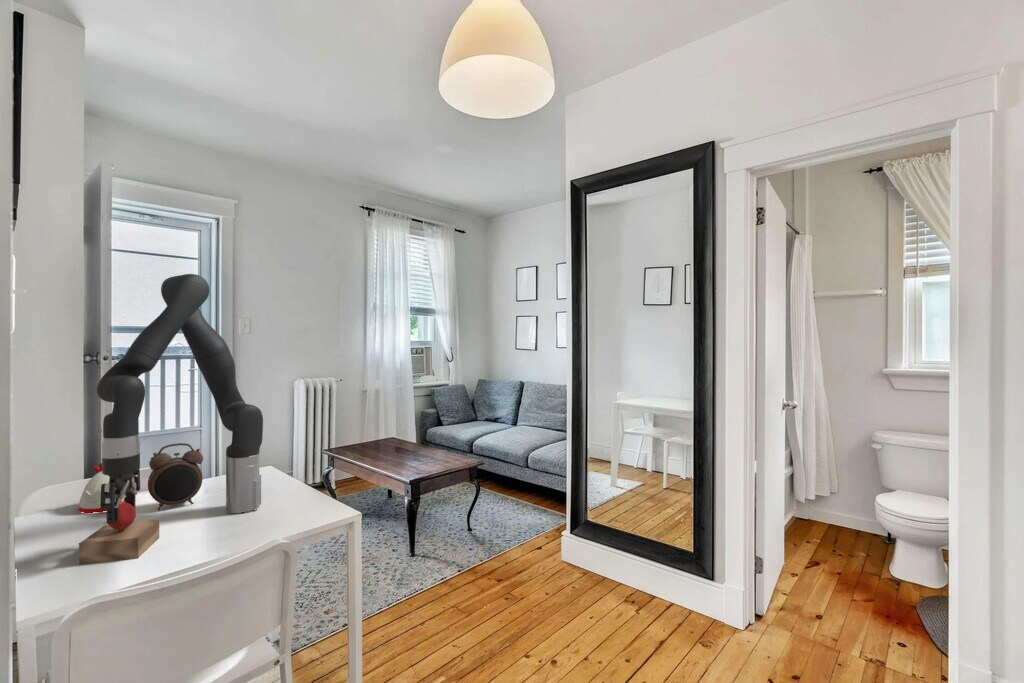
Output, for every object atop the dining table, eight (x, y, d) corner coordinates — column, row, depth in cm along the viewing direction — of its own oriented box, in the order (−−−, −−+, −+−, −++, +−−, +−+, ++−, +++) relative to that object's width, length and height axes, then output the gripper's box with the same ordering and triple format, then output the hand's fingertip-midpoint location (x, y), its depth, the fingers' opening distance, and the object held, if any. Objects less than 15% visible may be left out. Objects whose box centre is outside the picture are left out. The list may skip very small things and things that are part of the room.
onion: (118, 526, 124) (118, 495, 124) (141, 525, 124) (141, 495, 124) (100, 535, 118) (100, 504, 118) (125, 535, 118) (125, 503, 118)
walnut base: (159, 537, 128) (159, 519, 128) (138, 558, 117) (138, 537, 117) (106, 543, 125) (106, 524, 125) (79, 564, 114) (79, 543, 114)
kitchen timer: (114, 513, 146) (114, 465, 145) (66, 514, 144) (66, 465, 144) (145, 498, 159) (145, 453, 159) (102, 498, 158) (102, 454, 158)
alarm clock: (148, 514, 145) (147, 449, 144) (147, 507, 150) (147, 445, 150) (204, 504, 154) (204, 442, 154) (202, 498, 159) (201, 439, 159)
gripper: (124, 459, 115) (125, 526, 115) (151, 446, 129) (151, 505, 129) (87, 461, 113) (87, 529, 113) (118, 447, 126) (118, 508, 127)
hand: (121, 516), depth 121 cm, fingers open, 8 cm apart
